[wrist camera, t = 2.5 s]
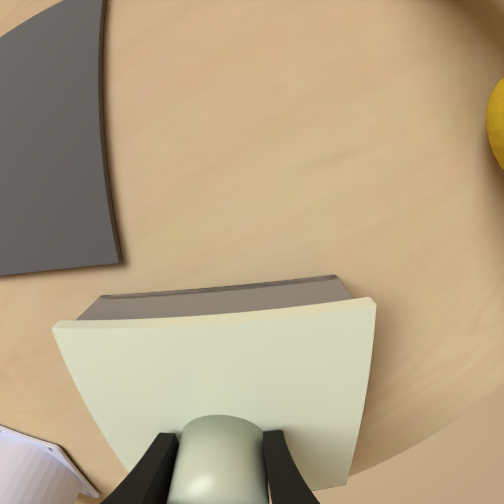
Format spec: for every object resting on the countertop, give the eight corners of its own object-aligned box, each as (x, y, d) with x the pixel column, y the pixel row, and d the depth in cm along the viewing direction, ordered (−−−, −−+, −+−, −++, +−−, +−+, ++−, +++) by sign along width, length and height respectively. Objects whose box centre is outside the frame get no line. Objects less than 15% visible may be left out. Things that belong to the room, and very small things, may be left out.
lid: (147, 473, 12) (130, 539, 8) (69, 311, 10) (-4, 383, 5) (340, 465, 12) (359, 536, 8) (360, 287, 10) (432, 371, 5)
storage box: (158, 444, 15) (147, 481, 12) (101, 295, 12) (68, 327, 9) (327, 435, 14) (338, 474, 12) (335, 274, 12) (360, 306, 9)
